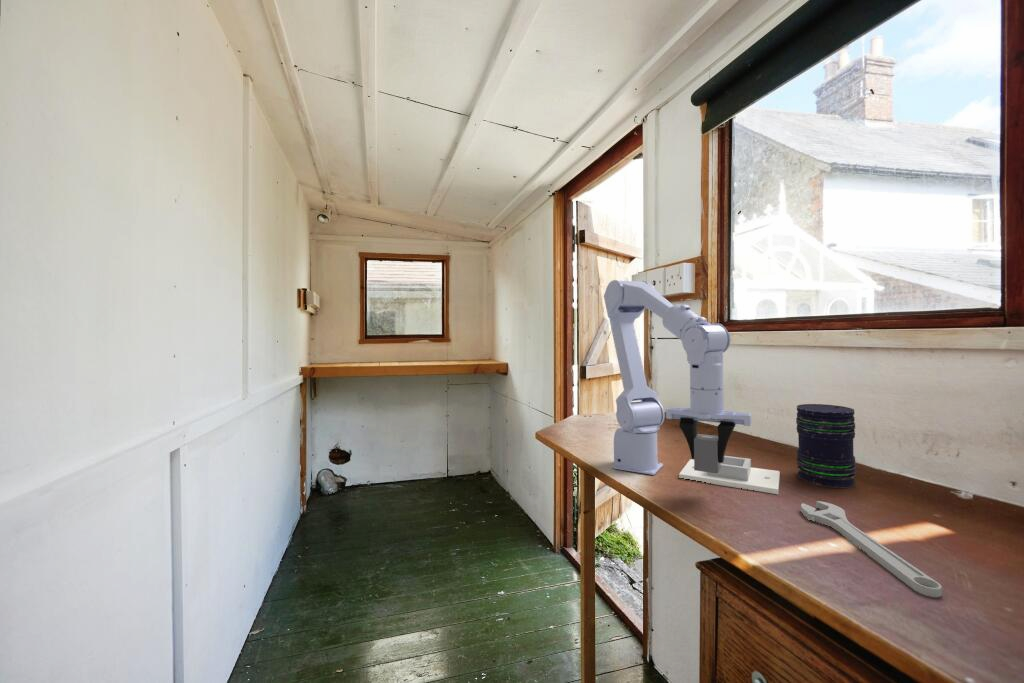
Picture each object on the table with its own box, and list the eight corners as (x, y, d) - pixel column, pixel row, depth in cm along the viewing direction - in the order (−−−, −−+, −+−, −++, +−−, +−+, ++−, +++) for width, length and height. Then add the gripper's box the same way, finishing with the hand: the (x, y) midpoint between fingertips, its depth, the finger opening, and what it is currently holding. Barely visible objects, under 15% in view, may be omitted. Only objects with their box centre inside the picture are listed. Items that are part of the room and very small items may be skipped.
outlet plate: (679, 478, 91) (678, 462, 90) (690, 463, 100) (690, 448, 100) (778, 494, 81) (777, 476, 80) (779, 475, 91) (779, 459, 90)
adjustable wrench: (949, 603, 49) (949, 588, 49) (885, 597, 50) (885, 583, 50) (834, 511, 74) (833, 501, 74) (792, 509, 75) (792, 499, 75)
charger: (694, 470, 79) (693, 438, 79) (698, 464, 83) (697, 433, 83) (717, 473, 77) (717, 440, 77) (720, 467, 80) (720, 435, 80)
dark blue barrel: (824, 489, 82) (823, 413, 82) (785, 473, 92) (784, 405, 92) (869, 486, 84) (868, 411, 83) (826, 470, 93) (825, 403, 93)
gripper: (661, 388, 80) (662, 459, 81) (748, 393, 72) (749, 471, 73) (670, 384, 86) (671, 450, 86) (751, 388, 78) (752, 460, 78)
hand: (707, 459), depth 80 cm, fingers closed on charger, 4 cm apart
